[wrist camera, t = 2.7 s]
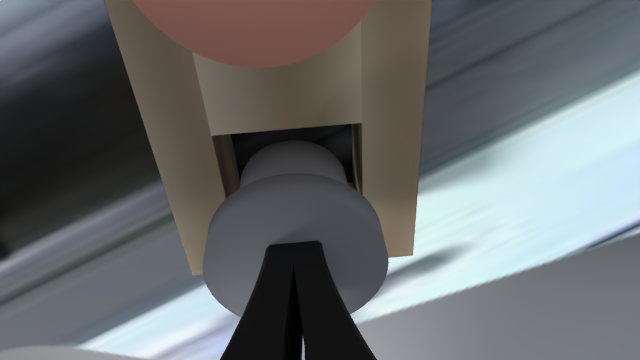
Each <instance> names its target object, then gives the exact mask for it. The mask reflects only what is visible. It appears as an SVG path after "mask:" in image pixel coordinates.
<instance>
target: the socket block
mask: <svg viewBox="0 0 640 360" xmlns="http://www.w3.org/2000/svg"><path fill="white" fill-rule="evenodd" d="M104 2H105V5H106V8H107V11H108V14H109V17H110V21H111V24H112V27H113V30H114V33H115V36H116V39H117V42H118V45H119V48H120V52H121V55H122V58H123V61H124V64H125V67H126V70H127V73H128V76H129V79H130V83H131V86H132V89H133V92H134V95H135V98H136V101H137V104H138V107H139V110H140V114H141V117H142V120H143V123H144V126H145V129H146V132H147V135H148V138H149V141H150V144H151V148H152V151H153V154H154V157H155V160H156V163H157V166H158V169H159V172H160V175H161V179H162V182H163V185H164V188H165V191H166V194H167V197H168V200H169V203H170V206H171V210H172V213H173V216H174V219H175V222H176V225H177V228H178V231H179V234H180V237H181V241H182V244H183V247H184V250H185V253H186V256H187V259H188V262H189V265H190V268H191V272H192V275H202V274H203V263H202V262H203V256H204V251H205V245H206V240H207V234H208V229H209V225H210V222H211V219H212V217H213V215H214V214H215V212H216V210H217V209H218V207H219V206H220V205H221V204H222V203H223V201H225V200H226V199H227V198H228V197H229V196H230V195H231V194H232V193H234V192H235V191H237V190H238V189H240V178H239V173H238V168H237V163H236V158H235V153H234V148H233V143H232V138H231V134H237V133H249V132H260V131H272V130H284V129H295V128H307V127H318V126H330V125H341V124H351V126H352V164H353V182H348V183H347V185H348V186H350V187H352V188H353V189H355V190H356V191H358V192H359V193H360V194H361V195H363V196H364V197H365V198H366V199H367V200H368V201H369V202H370V204H371V205H372V207H373V208H374V210H375V211H376V213H377V215H378V217H379V220H380V224H381V228H382V232H383V236H384V240H385V244H386V248H387V252H388V258H389V257H400V256H412V255H413V247H414V233H415V220H416V207H417V193H418V180H419V167H420V153H421V140H422V127H423V113H424V100H425V87H426V73H427V60H428V47H429V34H430V20H431V7H432V0H375V1H374V3H373V4H372V6H371V7H370V9H369V10H368V12H367V13H366V14H365V15H364V17H363V18H362V19H361V20H360V22H359V23H358V24H357V25H356V26H355V27H354V28H353V29H352V30H351V31H350V32H349V33H348V34H347V35H346V36H344V37H343V38H342V39H341V40H339V41H338V42H337V43H335V44H334V45H333V46H331V47H329V48H328V49H326V50H324V51H322V52H321V53H319V54H317V55H315V56H313V57H310V58H308V59H305V60H303V61H300V62H296V63H293V64H289V65H285V66H278V67H272V68H247V67H237V66H232V65H228V64H223V63H219V62H216V61H213V60H211V59H208V58H205V57H202V56H200V55H198V54H196V53H194V52H192V51H190V50H188V49H186V48H185V47H183V46H181V45H180V44H178V43H177V42H175V41H174V40H172V39H171V38H169V37H168V36H167V35H166V34H164V33H163V32H162V31H161V30H159V29H158V28H157V27H156V26H155V25H154V24H153V23H152V22H151V21H150V20H149V19H148V18H147V17H146V16H145V15H144V14H143V13H142V12H141V11H140V9H139V8H138V7H137V6H136V4H135V3H134V2H133V1H132V0H104Z"/></svg>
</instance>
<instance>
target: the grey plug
mask: <svg viewBox="0 0 640 360" xmlns="http://www.w3.org/2000/svg"><path fill="white" fill-rule="evenodd" d="M317 240H318V241H319V242H321V243H322V246H323V251H324V255H325V259H326V262H327V265H328V268H329V270H330V273H331V275H332V278H333V281H334V283H335V285H336V287H337V290H338V292H339V294H340V296H341V298H342V300H343V302H344V304H345V306H346V308H347V310H348V312H349V314H351V313H353V312H355V311H357V310H358V309H360V308H361V307H362V306H364V305H365V304H366V303H367V302H368V301H370V300H371V298H372V297H373V296H374V295H375V294H376V293H377V291H378V290H379V289H380V287H381V285H382V283H383V281H384V280H385V277H386V274H387V270H388V252H387V248H386V244H385V240H384V236H383V232H382V228H381V224H380V220H379V217H378V215H377V213H376V211H375V210H374V208H373V207H372V205H371V204H370V202H369V201H368V200H367V199H366V198H365V197H364V196H363V195H361V194H360V193H359V192H358V191H356V190H355V189H353V188H352V187H350V186H348V185H347V179H346V174H345V171H344V168H343V166H342V164H341V163H340V161H339V160H338V158H337V157H336V156H335V155H334V154H333V153H331V152H330V151H329V150H327V149H326V148H324V147H322V146H320V145H318V144H315V143H312V142H308V141H302V140H287V141H280V142H277V143H273V144H271V145H268V146H266V147H264V148H262V149H261V150H259V151H258V152H256V153H255V154H254V155H253V156H252V157H251V158H250V159H249V161H248V162H247V163H246V165H245V167H244V169H243V172H242V175H241V181H240V189H238V190H237V191H235V192H234V193H232V194H231V195H230V196H229V197H228V198H227V199H226V200H225V201H223V203H222V204H221V205H220V206H219V207H218V209H217V210H216V212H215V214H214V215H213V217H212V219H211V222H210V225H209V229H208V234H207V240H206V245H205V251H204V256H203V262H202V263H203V275H204V279H205V282H206V284H207V287H208V288H209V290H210V292H211V293H212V295H213V296H214V297H215V298H216V300H217V301H218V302H219V303H220V304H222V305H223V306H224V307H225V308H226V309H228V310H229V311H231V312H232V313H234V314H236V315H238V316H240V317H242V315H243V313H244V311H245V308H246V306H247V303H248V301H249V299H250V296H251V294H252V291H253V289H254V286H255V284H256V281H257V278H258V275H259V272H260V269H261V266H262V263H263V259H264V256H265V251H266V248H267V247H268V246H269V245H273V244H284V243H295V242H306V241H317Z"/></svg>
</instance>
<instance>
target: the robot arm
mask: <svg viewBox="0 0 640 360" xmlns="http://www.w3.org/2000/svg"><path fill="white" fill-rule="evenodd" d="M303 338H304V345H305V360H377V359H376V358H375V356H374V355H373V353H372V351H371V350H370V348H369V347H368V345H367V344H366V342H365V340H364V339H363V337H362V335H361V334H360V332H359V330H358V328H357V327H356V325H355V323H354V321H353V319H352V318H351V316H350V314H349V312H348V310H347V308H346V306H345V304H344V302H343V300H342V298H341V296H340V294H339V292H338V290H337V287H336V285H335V283H334V281H333V278H332V275H331V273H330V270H329V268H328V265H327V262H326V259H325V255H324V251H323V246H322V243H321V242H319V241H318V240H317V241H306V242H295V243H284V244H273V245H269V246H268V247H267V248H266V251H265V256H264V259H263V263H262V266H261V269H260V272H259V275H258V278H257V281H256V284H255V286H254V289H253V291H252V294H251V296H250V299H249V301H248V303H247V306H246V308H245V311H244V313H243V315H242V317H241V320H240V322H239V324H238V326H237V328H236V330H235V332H234V334H233V336H232V338H231V340H230V342H229V344H228V346H227V348H226V350H225V351H224V353H223V355H222V357H221V359H220V360H302V339H303Z"/></svg>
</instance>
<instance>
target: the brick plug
mask: <svg viewBox="0 0 640 360" xmlns="http://www.w3.org/2000/svg"><path fill="white" fill-rule="evenodd" d="M132 1H133V2H134V3H135V4H136V6H137V7H138V8H139V9H140V11H141V12H142V13H143V14H144V15H145V16H146V17H147V18H148V19H149V20H150V21H151V22H152V23H153V24H154V25H155V26H156V27H157V28H158V29H159V30H161V31H162V32H163V33H164V34H166V35H167V36H168V37H169V38H171V39H172V40H174V41H175V42H177V43H178V44H180V45H181V46H183V47H185V48H186V49H188V50H190V51H192V52H194V53H196V54H198V55H200V56H202V57H205V58H208V59H211V60H213V61H216V62H219V63H223V64H228V65H232V66H237V67H247V68H272V67H278V66H285V65H289V64H293V63H296V62H300V61H303V60H305V59H308V58H310V57H313V56H315V55H317V54H319V53H321V52H322V51H324V50H326V49H328V48H329V47H331V46H333V45H334V44H335V43H337V42H338V41H339V40H341V39H342V38H343V37H344V36H346V35H347V34H348V33H349V32H350V31H351V30H352V29H353V28H354V27H355V26H356V25H357V24H358V23H359V22H360V20H361V19H362V18H363V17H364V15H365V14H366V13H367V12H368V10H369V9H370V7H371V6H372V4H373V3H374V1H375V0H132Z"/></svg>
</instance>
